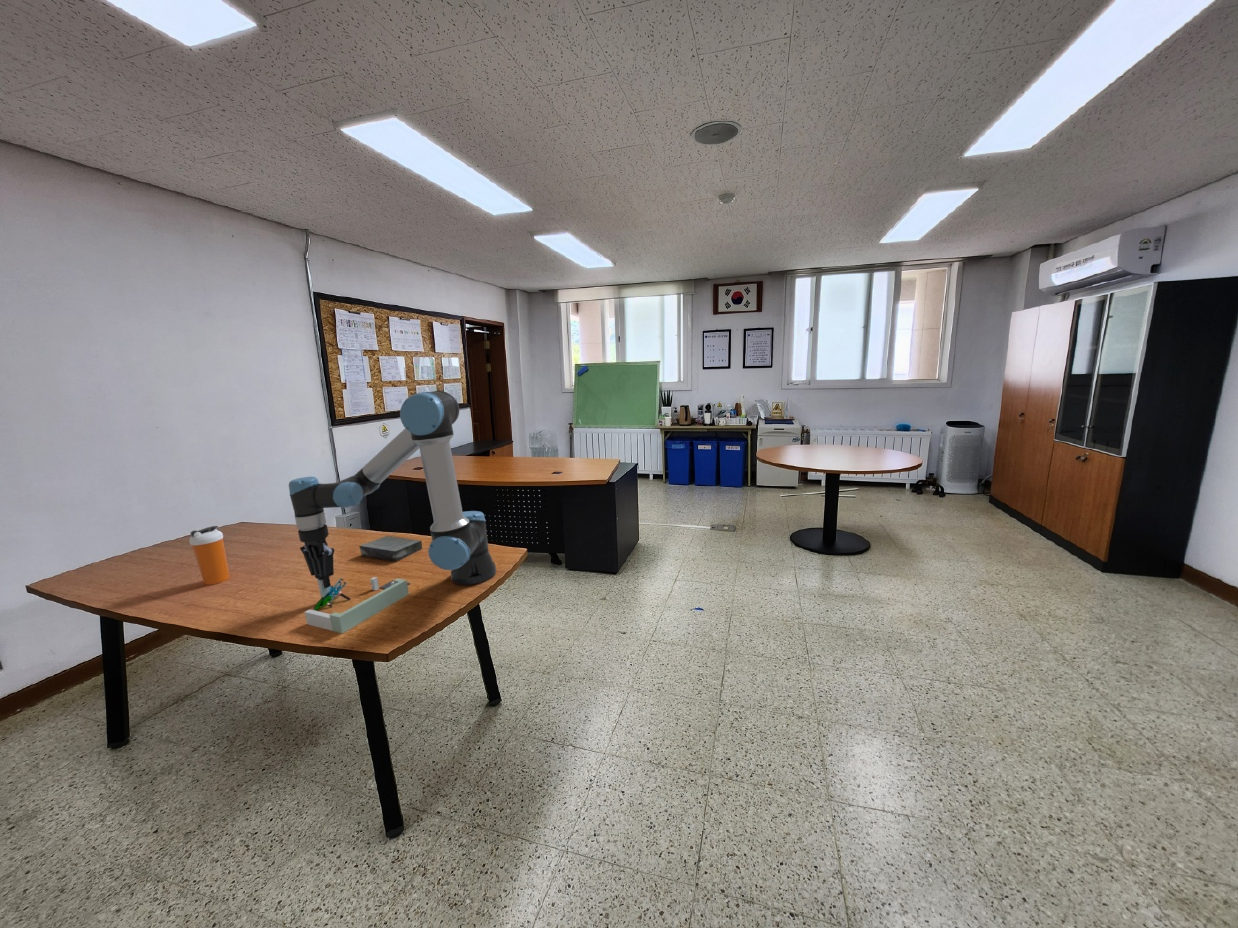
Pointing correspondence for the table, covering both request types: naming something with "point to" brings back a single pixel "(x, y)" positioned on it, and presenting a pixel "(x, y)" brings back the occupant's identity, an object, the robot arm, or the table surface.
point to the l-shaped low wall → (324, 619)
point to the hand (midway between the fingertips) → (326, 595)
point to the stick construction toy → (325, 600)
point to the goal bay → (369, 607)
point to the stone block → (390, 548)
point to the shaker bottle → (210, 555)
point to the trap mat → (389, 585)
